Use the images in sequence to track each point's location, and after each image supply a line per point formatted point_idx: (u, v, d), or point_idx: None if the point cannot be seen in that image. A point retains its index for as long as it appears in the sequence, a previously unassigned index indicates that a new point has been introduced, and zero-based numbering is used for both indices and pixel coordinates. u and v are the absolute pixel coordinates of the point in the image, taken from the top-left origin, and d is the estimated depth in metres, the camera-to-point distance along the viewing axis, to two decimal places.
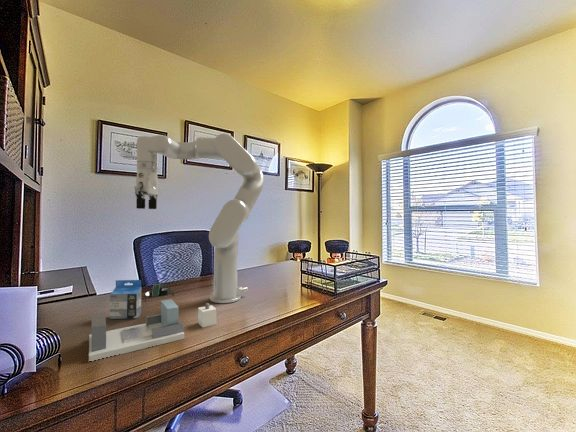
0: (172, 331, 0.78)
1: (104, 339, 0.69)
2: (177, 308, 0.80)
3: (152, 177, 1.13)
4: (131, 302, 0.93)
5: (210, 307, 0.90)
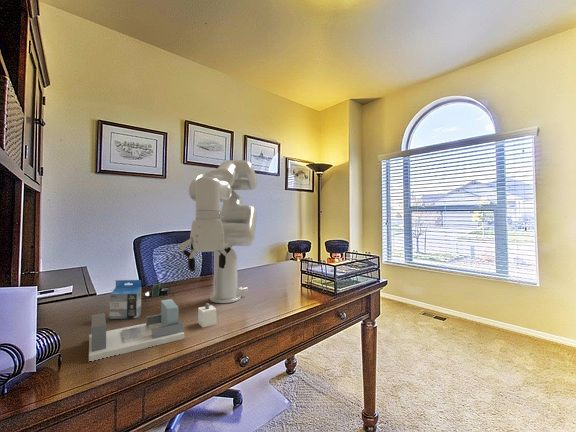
0: (172, 331, 0.78)
1: (104, 339, 0.69)
2: (177, 308, 0.80)
3: None
4: (131, 302, 0.93)
5: (210, 307, 0.90)
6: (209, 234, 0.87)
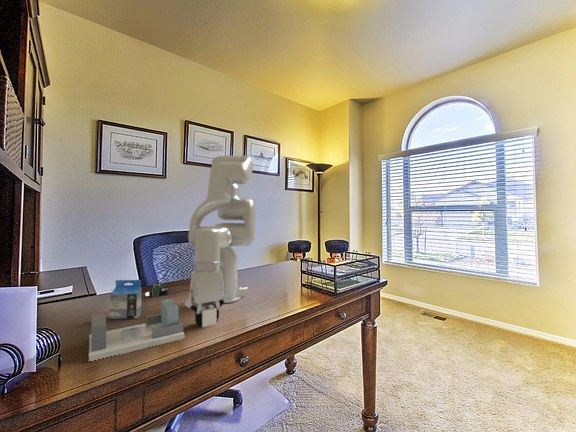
0: (172, 331, 0.78)
1: (104, 339, 0.69)
2: (177, 308, 0.80)
3: None
4: (131, 302, 0.93)
5: (210, 307, 0.90)
6: (209, 285, 0.87)
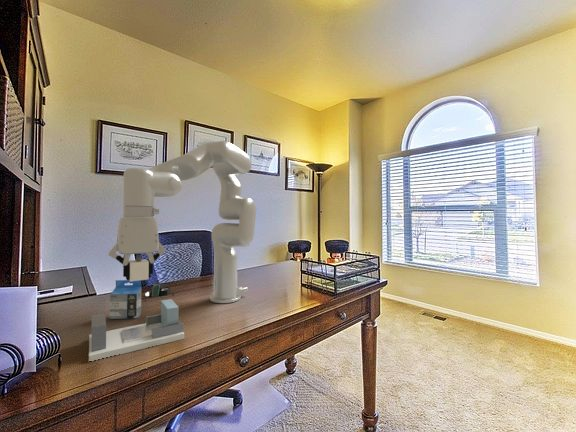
0: (172, 331, 0.78)
1: (104, 339, 0.69)
2: (177, 308, 0.80)
3: None
4: (131, 302, 0.93)
5: (142, 260, 0.78)
6: (138, 233, 0.75)
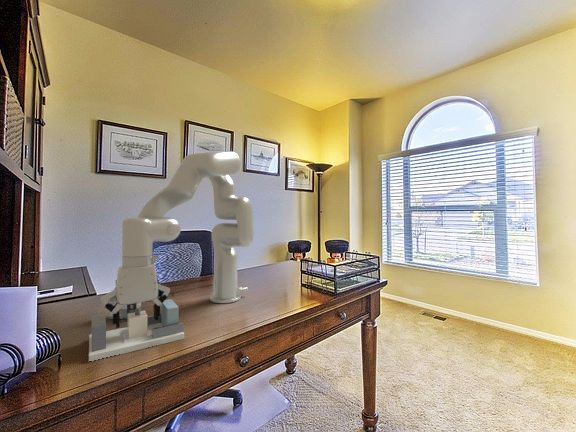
0: (172, 331, 0.78)
1: (104, 339, 0.69)
2: (177, 308, 0.80)
3: None
4: None
5: (141, 313, 0.78)
6: (137, 283, 0.75)
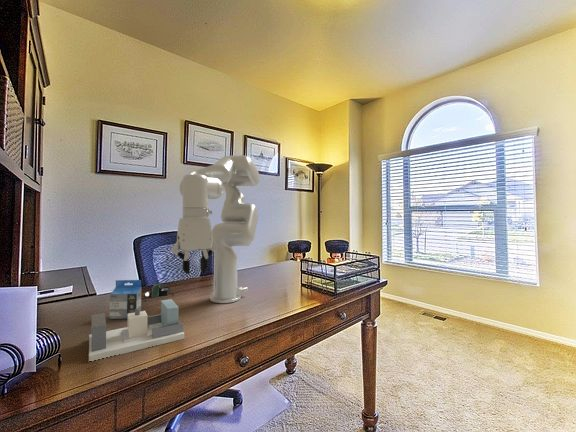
0: (172, 331, 0.78)
1: (104, 339, 0.69)
2: (177, 308, 0.80)
3: None
4: (131, 302, 0.93)
5: (141, 313, 0.78)
6: (196, 232, 0.84)
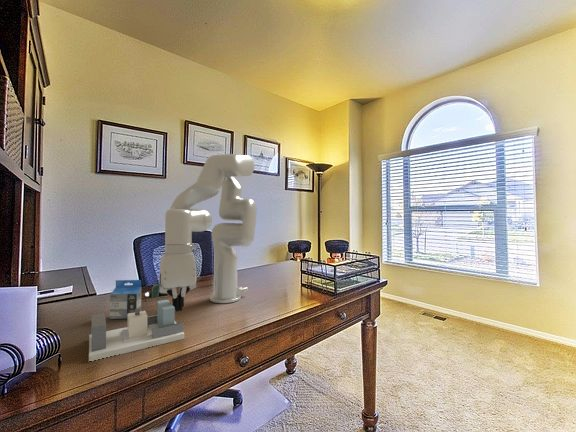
0: (172, 331, 0.78)
1: (104, 339, 0.69)
2: (173, 309, 0.79)
3: None
4: (131, 302, 0.93)
5: (141, 313, 0.78)
6: (179, 269, 0.82)
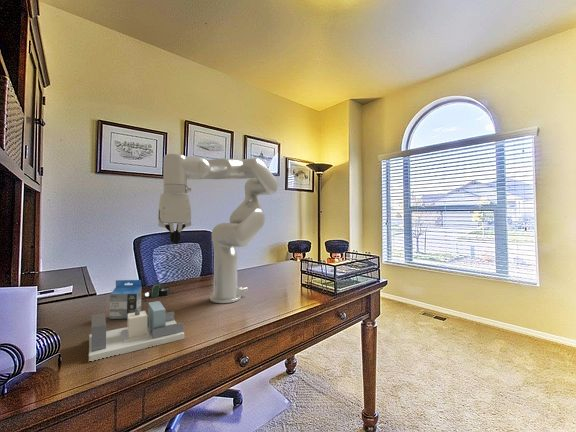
0: (172, 331, 0.78)
1: (104, 339, 0.69)
2: (164, 310, 0.78)
3: None
4: (131, 302, 0.93)
5: (141, 313, 0.78)
6: (175, 206, 0.93)
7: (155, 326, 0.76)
